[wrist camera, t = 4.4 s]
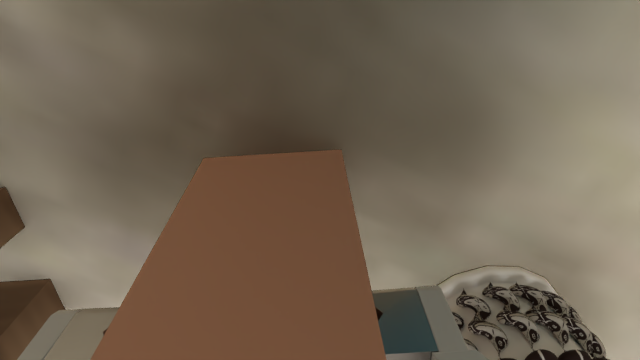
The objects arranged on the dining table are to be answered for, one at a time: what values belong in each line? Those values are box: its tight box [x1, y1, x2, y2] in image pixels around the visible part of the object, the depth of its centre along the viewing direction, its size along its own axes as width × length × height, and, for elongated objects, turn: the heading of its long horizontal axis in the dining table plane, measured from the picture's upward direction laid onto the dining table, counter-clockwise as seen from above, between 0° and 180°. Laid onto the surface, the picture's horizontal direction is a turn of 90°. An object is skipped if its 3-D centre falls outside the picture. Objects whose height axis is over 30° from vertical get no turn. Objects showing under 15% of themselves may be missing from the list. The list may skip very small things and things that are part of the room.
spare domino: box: [90, 150, 386, 360], centre depth 10 cm, size 2×5×9 cm, turn 93°
